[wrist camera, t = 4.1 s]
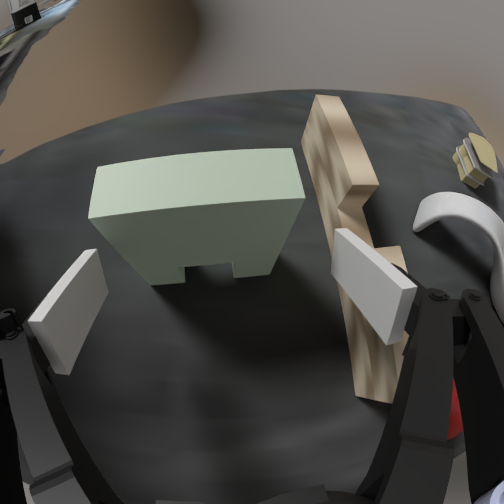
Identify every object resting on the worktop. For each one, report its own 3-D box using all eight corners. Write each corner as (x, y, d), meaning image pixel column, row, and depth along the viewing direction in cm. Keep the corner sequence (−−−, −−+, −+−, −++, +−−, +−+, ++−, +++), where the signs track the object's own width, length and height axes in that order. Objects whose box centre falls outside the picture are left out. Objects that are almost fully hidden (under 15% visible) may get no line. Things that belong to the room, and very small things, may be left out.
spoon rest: (524, 280, 26) (556, 264, 20) (513, 352, 22) (552, 343, 16) (422, 184, 30) (453, 150, 23) (399, 260, 26) (442, 229, 19)
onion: (409, 370, 21) (469, 366, 14) (447, 386, 21) (504, 384, 13) (385, 428, 19) (441, 445, 12) (425, 439, 19) (480, 452, 11)
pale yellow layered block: (489, 207, 30) (511, 189, 25) (449, 186, 30) (472, 164, 25) (475, 158, 34) (493, 139, 29) (438, 137, 34) (455, 115, 29)
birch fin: (379, 388, 21) (427, 393, 14) (355, 395, 20) (400, 405, 14) (320, 142, 30) (338, 96, 23) (300, 142, 29) (315, 94, 23)
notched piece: (150, 285, 22) (87, 218, 11) (150, 251, 24) (97, 167, 12) (269, 274, 24) (305, 197, 12) (264, 241, 25) (292, 148, 14)
